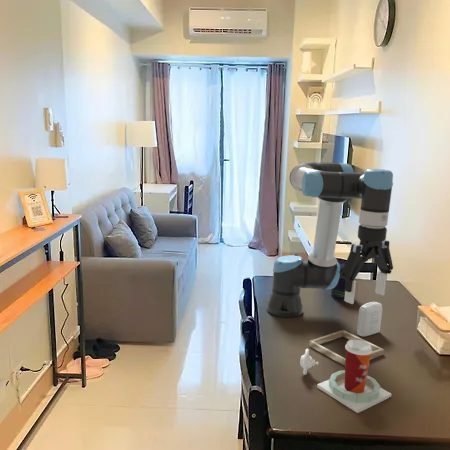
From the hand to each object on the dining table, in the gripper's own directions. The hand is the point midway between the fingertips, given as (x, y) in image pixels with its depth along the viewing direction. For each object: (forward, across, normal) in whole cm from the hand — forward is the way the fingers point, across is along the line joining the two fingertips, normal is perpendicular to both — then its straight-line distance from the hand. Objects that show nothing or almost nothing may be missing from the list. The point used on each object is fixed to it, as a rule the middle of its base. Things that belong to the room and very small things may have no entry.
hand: (364, 298), depth 132 cm
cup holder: (+28, -2, -1) cm, 29 cm away
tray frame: (+29, +17, +18) cm, 38 cm away
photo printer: (+29, +36, +23) cm, 51 cm away
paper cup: (+28, -2, -1) cm, 28 cm away
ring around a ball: (+29, -6, +13) cm, 32 cm away
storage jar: (+29, +58, +55) cm, 85 cm away
